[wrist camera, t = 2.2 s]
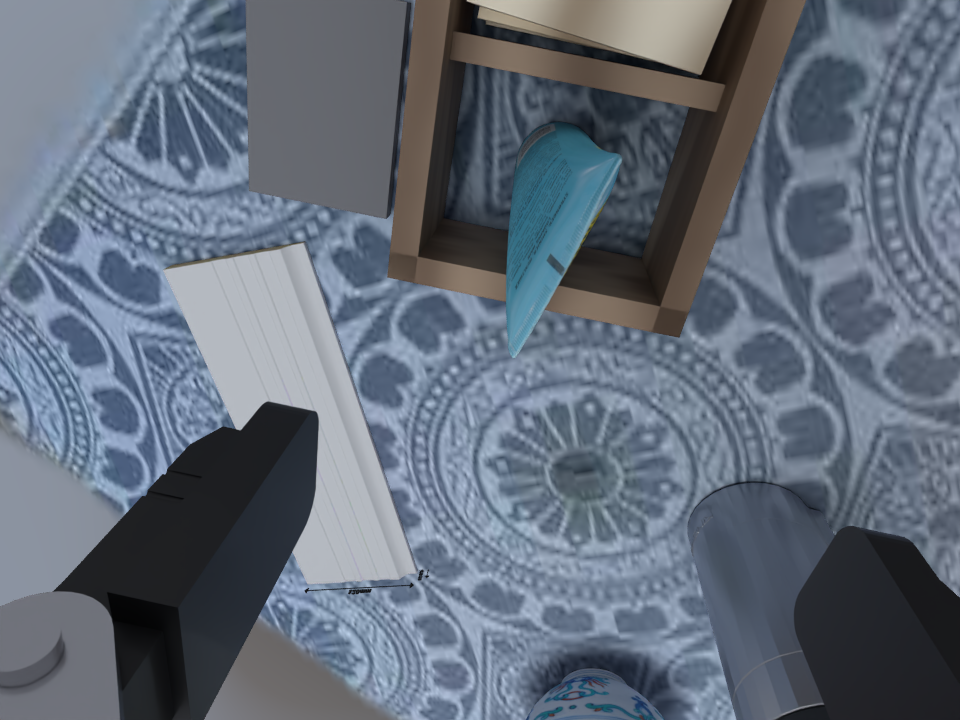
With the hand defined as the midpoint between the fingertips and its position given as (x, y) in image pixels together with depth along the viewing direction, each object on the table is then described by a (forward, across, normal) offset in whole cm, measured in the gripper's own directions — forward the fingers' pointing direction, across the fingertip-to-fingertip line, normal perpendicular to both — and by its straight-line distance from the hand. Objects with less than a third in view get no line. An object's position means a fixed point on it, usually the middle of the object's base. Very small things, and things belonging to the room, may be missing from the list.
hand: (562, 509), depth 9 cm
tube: (+31, 0, 0) cm, 31 cm away
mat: (+30, +14, -1) cm, 34 cm away
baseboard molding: (+31, +14, +24) cm, 42 cm away
